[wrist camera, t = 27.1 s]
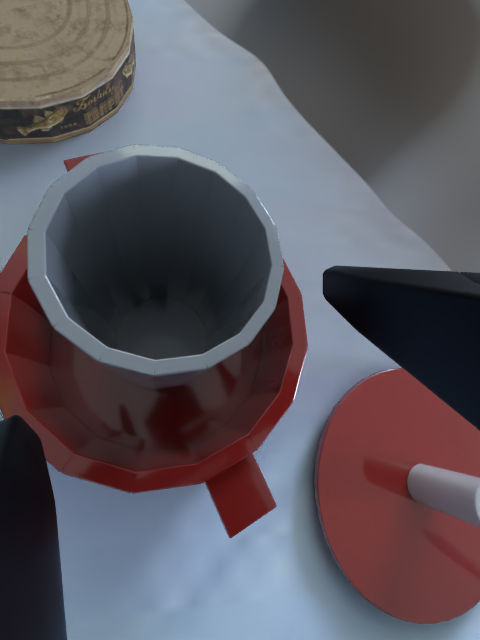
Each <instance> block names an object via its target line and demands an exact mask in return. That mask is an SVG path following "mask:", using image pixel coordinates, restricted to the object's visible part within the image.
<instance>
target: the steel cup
mask: <svg viewBox="0 0 480 640" xmlns="http://www.w3.org/2000/svg"><path fill="white" fill-rule="evenodd" d="M27 267H28V282H29V284H30V286H31V288H32V290H33V292H34V293H35V295H36V297H37V299H38V301H39V303H40V305H41V307H42V309H43V311H44V312H45V314H46V316H47V318H48V320H49V322H50V324H51V326H52V327H54V329H55V330H56V331H57V332H59V333H60V334H61V335H63V336H64V337H65V338H67V339H68V340H69V341H70V342H72V343H73V344H74V345H76V346H77V347H78V348H80V349H81V350H82V351H84V352H85V353H86V354H88V355H89V356H90V357H91V358H93V359H94V360H95V361H97V362H98V363H100V364H102V365H103V366H105V367H107V368H108V369H110V370H112V371H113V372H115V373H117V374H118V375H120V376H122V377H123V378H125V379H127V380H128V381H130V382H131V383H133V384H135V385H137V386H140V387H144V388H147V389H152V390H156V391H160V390H168V389H173V388H178V387H180V386H182V385H184V384H185V383H187V382H189V381H190V380H192V379H194V378H196V377H197V376H199V375H200V374H202V373H204V372H205V371H207V370H209V369H210V368H212V367H214V366H215V365H217V364H219V363H220V362H222V361H224V360H225V359H227V358H228V357H230V356H232V355H233V354H235V353H237V352H238V351H240V350H242V349H243V348H245V347H247V346H248V345H249V344H250V343H251V342H252V341H253V339H254V338H255V336H256V335H257V334H258V332H259V331H260V330H261V328H262V327H263V325H264V324H265V323H266V321H267V320H268V319H269V317H270V316H271V314H272V313H273V312H274V310H275V308H276V305H277V300H278V295H279V291H280V286H281V281H282V276H283V272H284V263H283V258H282V253H281V248H280V242H279V237H278V232H277V228H276V225H275V224H274V222H273V220H272V219H271V217H270V215H269V214H268V212H267V211H266V209H265V207H264V206H263V204H262V203H261V201H260V199H259V198H258V196H257V195H256V193H255V192H254V191H253V190H252V189H251V188H250V187H249V186H247V185H246V184H245V183H244V182H243V181H241V180H240V179H239V178H238V177H236V176H235V175H234V174H233V173H231V172H230V171H229V170H228V169H227V168H225V167H224V166H223V165H220V163H218V162H215V161H212V160H210V159H207V158H205V157H202V156H200V155H197V154H195V153H192V152H189V151H187V150H184V149H182V148H179V149H178V147H165V146H148V145H133V146H132V145H129V146H125V147H122V148H118V149H115V150H111V151H108V152H104V153H100V154H97V155H93V156H90V157H88V158H85V159H84V160H83V161H82V162H80V163H79V164H78V165H76V166H75V167H74V168H72V169H71V170H70V171H69V172H67V173H66V174H65V175H63V176H62V177H61V178H59V179H58V180H57V181H56V182H54V183H53V184H52V185H51V186H50V187H49V188H48V190H47V192H46V194H45V196H44V198H43V200H42V201H41V203H40V205H39V207H38V209H37V211H36V213H35V215H34V217H33V219H32V221H31V223H30V225H29V227H28V231H27Z"/></svg>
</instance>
